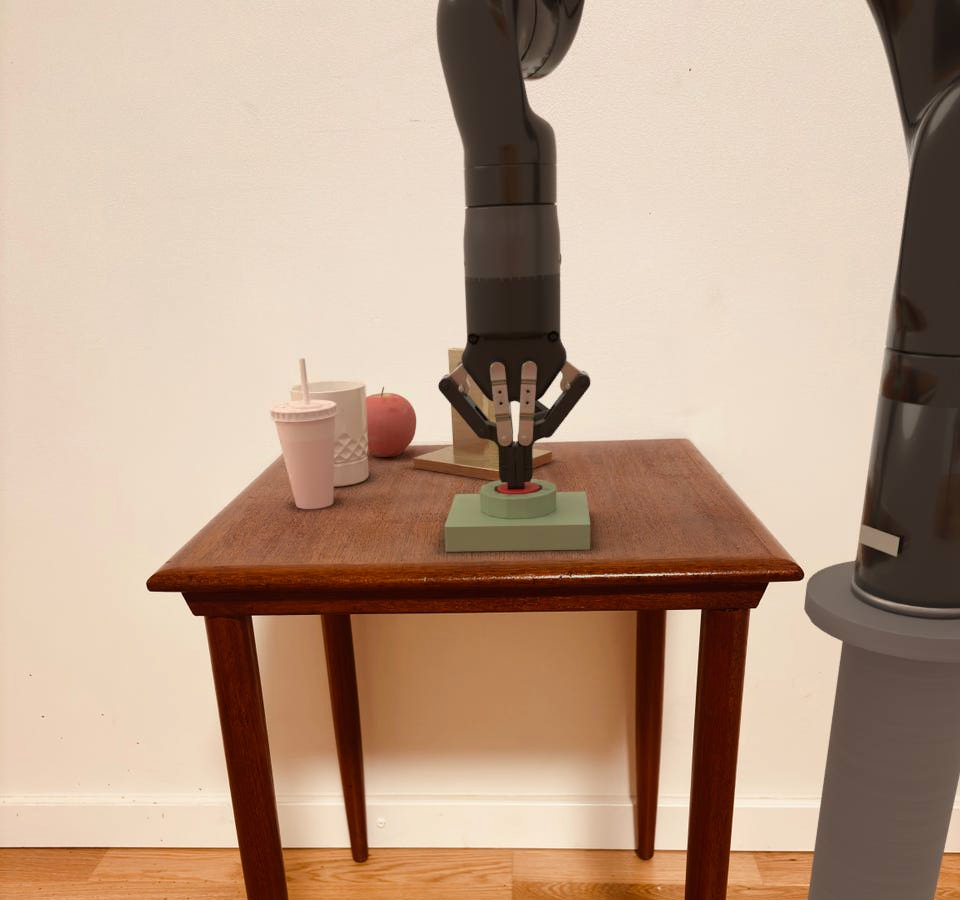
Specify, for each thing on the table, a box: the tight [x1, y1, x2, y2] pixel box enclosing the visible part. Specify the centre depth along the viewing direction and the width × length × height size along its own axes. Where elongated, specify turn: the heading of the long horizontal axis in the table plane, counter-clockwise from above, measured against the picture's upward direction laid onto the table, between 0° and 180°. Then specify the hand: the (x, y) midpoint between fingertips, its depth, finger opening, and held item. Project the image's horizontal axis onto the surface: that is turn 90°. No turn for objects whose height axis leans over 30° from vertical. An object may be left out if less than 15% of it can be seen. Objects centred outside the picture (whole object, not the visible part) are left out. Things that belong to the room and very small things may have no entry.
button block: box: [443, 478, 591, 553], centre depth 80 cm, size 12×10×4 cm
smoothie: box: [269, 357, 338, 510], centre depth 89 cm, size 6×6×14 cm
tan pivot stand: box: [412, 347, 553, 482], centre depth 101 cm, size 12×10×13 cm
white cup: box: [289, 379, 370, 488], centre depth 98 cm, size 8×8×10 cm
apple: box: [366, 386, 417, 458], centre depth 108 cm, size 7×7×8 cm
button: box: [497, 482, 539, 495], centre depth 80 cm, size 4×4×2 cm
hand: (516, 486), depth 79 cm, fingers closed
